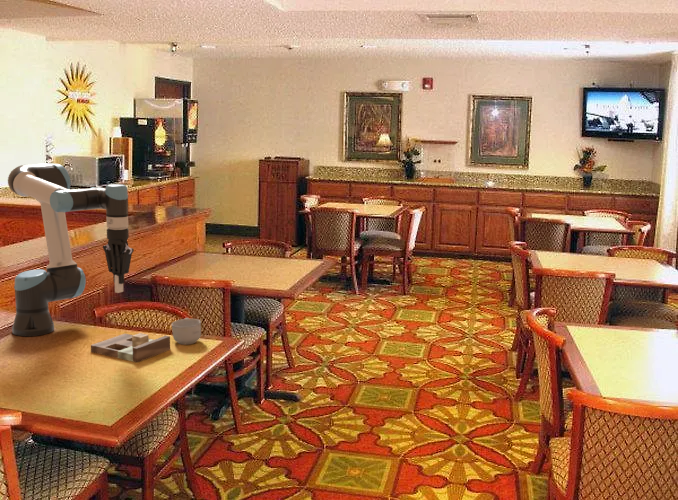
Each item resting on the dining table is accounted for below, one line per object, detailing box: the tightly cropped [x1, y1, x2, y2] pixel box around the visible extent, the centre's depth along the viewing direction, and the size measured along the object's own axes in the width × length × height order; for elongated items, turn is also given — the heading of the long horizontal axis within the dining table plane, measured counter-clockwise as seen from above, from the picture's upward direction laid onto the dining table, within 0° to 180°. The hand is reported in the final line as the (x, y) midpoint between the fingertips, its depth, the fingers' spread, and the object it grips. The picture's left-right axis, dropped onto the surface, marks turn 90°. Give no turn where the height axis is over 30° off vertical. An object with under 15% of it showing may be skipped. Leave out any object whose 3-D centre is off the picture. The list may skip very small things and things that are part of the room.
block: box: [132, 332, 150, 347], centre depth 270 cm, size 4×4×4 cm
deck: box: [90, 333, 171, 363], centre depth 272 cm, size 22×17×5 cm
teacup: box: [171, 317, 202, 346], centre depth 285 cm, size 14×11×8 cm
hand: (119, 291), depth 274 cm, fingers closed
